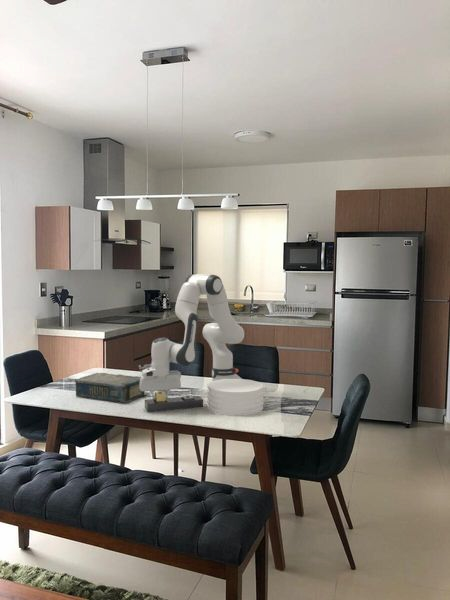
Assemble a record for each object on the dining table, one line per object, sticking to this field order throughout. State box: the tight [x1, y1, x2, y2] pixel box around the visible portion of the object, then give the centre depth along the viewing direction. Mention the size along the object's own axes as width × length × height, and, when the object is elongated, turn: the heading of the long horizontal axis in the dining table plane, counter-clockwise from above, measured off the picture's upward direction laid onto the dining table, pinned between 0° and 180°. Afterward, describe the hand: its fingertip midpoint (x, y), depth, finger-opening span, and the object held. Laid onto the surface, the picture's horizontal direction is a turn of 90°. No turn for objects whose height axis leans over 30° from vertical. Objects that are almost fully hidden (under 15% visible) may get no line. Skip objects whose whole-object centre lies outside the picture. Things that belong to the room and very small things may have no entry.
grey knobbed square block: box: [181, 395, 193, 401], centre depth 245 cm, size 4×4×5 cm
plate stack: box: [206, 378, 264, 416], centre depth 244 cm, size 28×28×12 cm
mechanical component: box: [137, 363, 152, 373], centre depth 300 cm, size 3×10×10 cm, turn 107°
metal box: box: [74, 372, 146, 404], centre depth 264 cm, size 21×32×10 cm, turn 66°
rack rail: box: [144, 395, 204, 413], centre depth 243 cm, size 28×8×4 cm, turn 109°
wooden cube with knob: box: [154, 391, 166, 403], centre depth 240 cm, size 4×4×5 cm
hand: (160, 398), depth 240 cm, fingers closed on wooden cube with knob, 4 cm apart
